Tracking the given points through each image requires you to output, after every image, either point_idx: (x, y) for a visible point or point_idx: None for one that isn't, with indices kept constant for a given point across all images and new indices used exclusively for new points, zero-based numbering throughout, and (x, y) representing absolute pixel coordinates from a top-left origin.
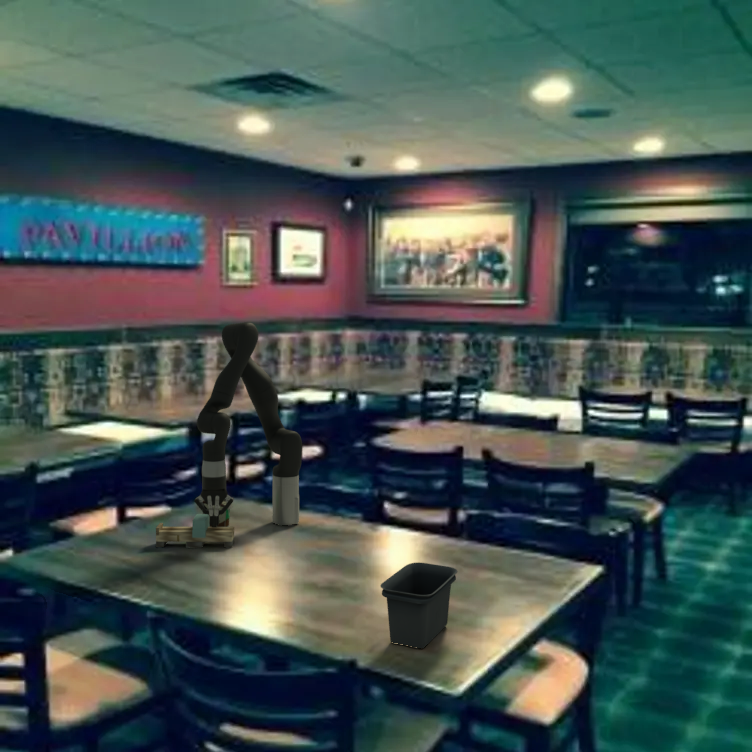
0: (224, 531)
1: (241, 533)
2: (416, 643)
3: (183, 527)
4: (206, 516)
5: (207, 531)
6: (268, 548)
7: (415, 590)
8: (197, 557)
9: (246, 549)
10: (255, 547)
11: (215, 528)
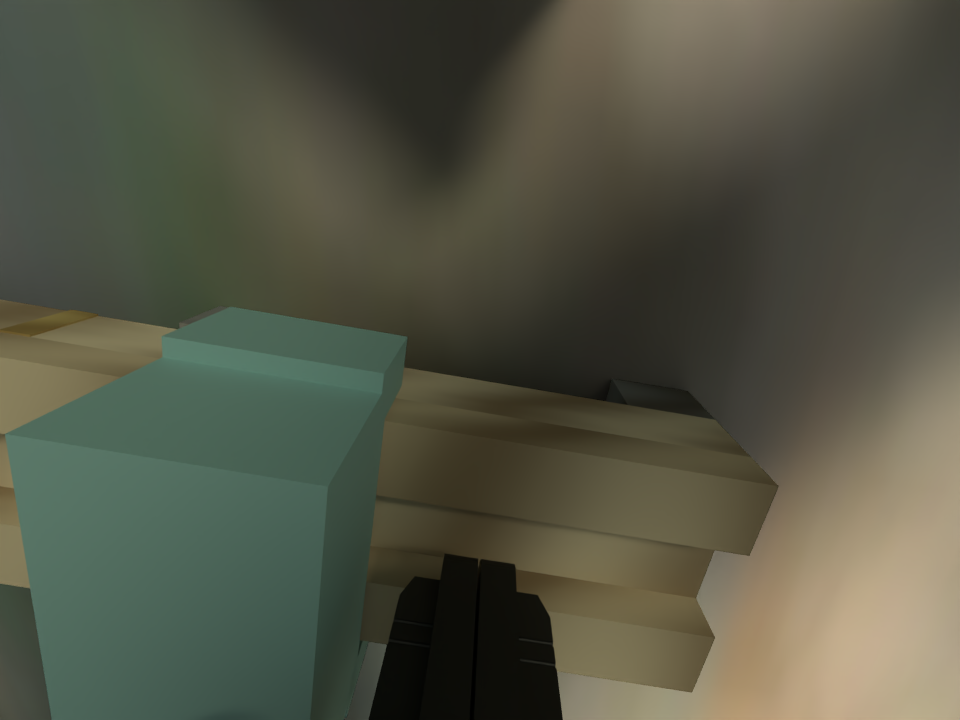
0: (601, 665)
1: (858, 6)
2: None
3: (4, 403)
4: (286, 657)
5: (382, 630)
6: (954, 611)
7: None
8: (351, 707)
9: (755, 604)
10: (850, 569)
11: (488, 512)
